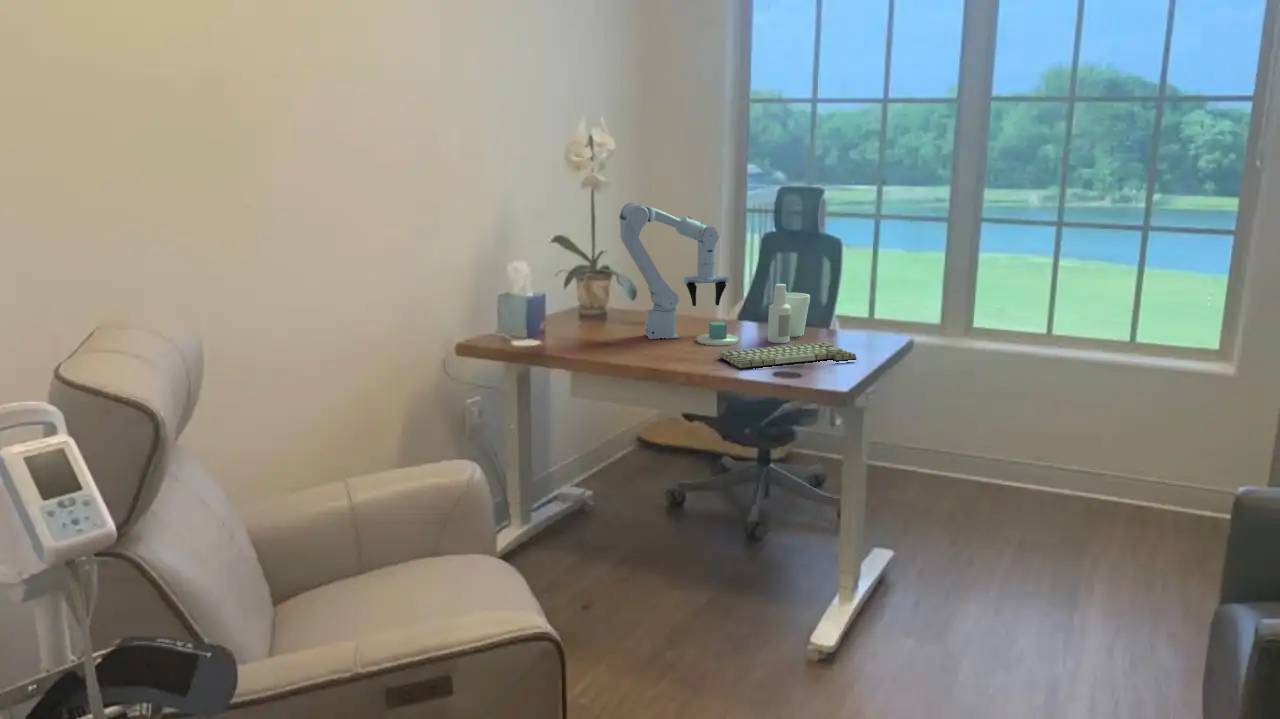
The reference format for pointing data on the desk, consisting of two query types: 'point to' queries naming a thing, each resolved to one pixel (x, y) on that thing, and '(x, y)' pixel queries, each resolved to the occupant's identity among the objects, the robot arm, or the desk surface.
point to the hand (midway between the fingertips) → (705, 305)
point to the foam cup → (798, 312)
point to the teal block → (717, 330)
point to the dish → (717, 340)
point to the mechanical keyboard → (785, 355)
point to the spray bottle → (779, 316)
